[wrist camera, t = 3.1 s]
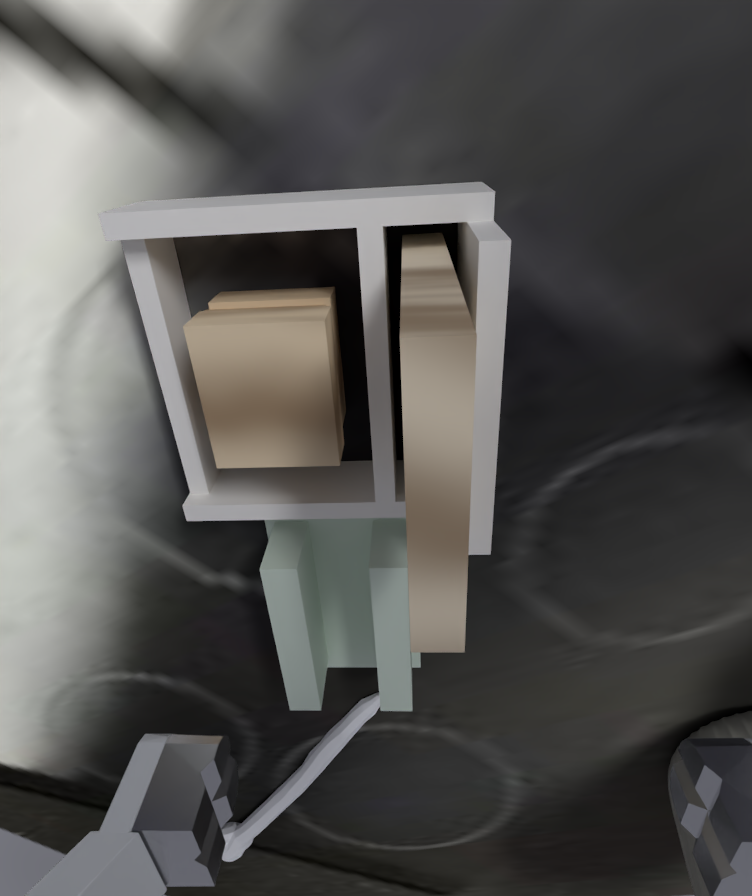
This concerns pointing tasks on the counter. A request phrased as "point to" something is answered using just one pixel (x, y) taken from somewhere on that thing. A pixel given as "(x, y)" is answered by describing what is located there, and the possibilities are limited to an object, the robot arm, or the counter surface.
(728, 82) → the counter surface
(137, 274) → the rack
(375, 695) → the white ladle
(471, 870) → the counter surface
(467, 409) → the birch panel
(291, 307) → the offcut stack
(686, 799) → the robot arm
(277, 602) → the holder
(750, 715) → the canister
